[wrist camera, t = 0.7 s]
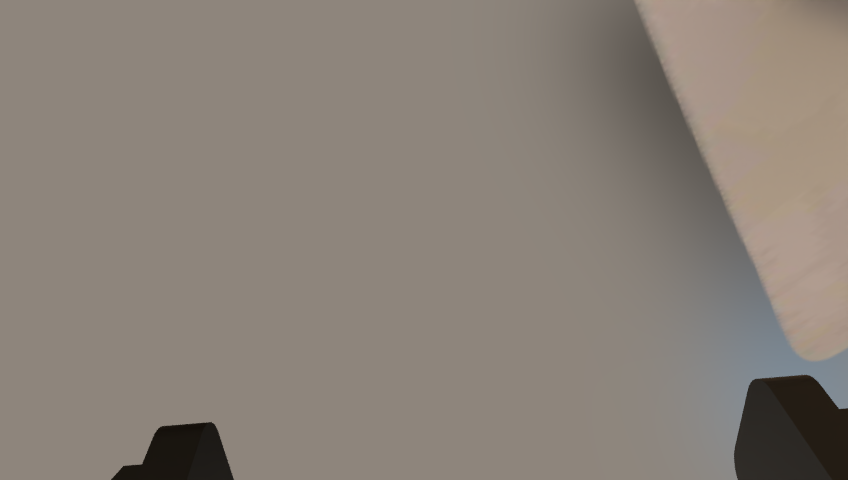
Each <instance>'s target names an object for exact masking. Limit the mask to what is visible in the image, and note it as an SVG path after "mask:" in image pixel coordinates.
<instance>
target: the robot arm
mask: <svg viewBox="0 0 848 480" xmlns="http://www.w3.org/2000/svg"><path fill="white" fill-rule="evenodd" d="M734 461H735V470H736V474H737V478H738V480H848V408H847V409H838V407H837V406H836V405H835V403H834V402H833V401H832V399H831V398H830V397H829V395H828V394H827V393H826V392H825V390H824V389H823V388H822V386H821V385H820V384H819V383H818V382H817V381H816V380H815V379H814V378H813V377H811V376H808V375H798V376H787V377H774V378H762V379H755V380H753V381H752V382H751V383H750V385H749V388H748V392H747V397H746V401H745V406H744V410H743V414H742V419H741V423H740V428H739V432H738V436H737V441H736V445H735V451H734ZM111 480H234V479H233V476H232V473H231V470H230V467H229V464H228V460H227V458H226V454H225V451H224V448H223V445H222V442H221V439H220V436H219V433H218V430H217V428H216V426H215V425H214V424H213V423H212V422H209V423H196V424H185V425H172V426H162V427H160V428H159V429H158V430H157V431H156V433H155V434H154V437H153V439H152V441H151V444H150V446H149V449H148V451H147V454H146V456H145V459H144V461H143V464H142V465H131V466H123V467H122V468H121V470H120V471H119V472H118V473H117V474H116V475H115V476H114V477H113V478H112V479H111Z"/></svg>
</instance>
